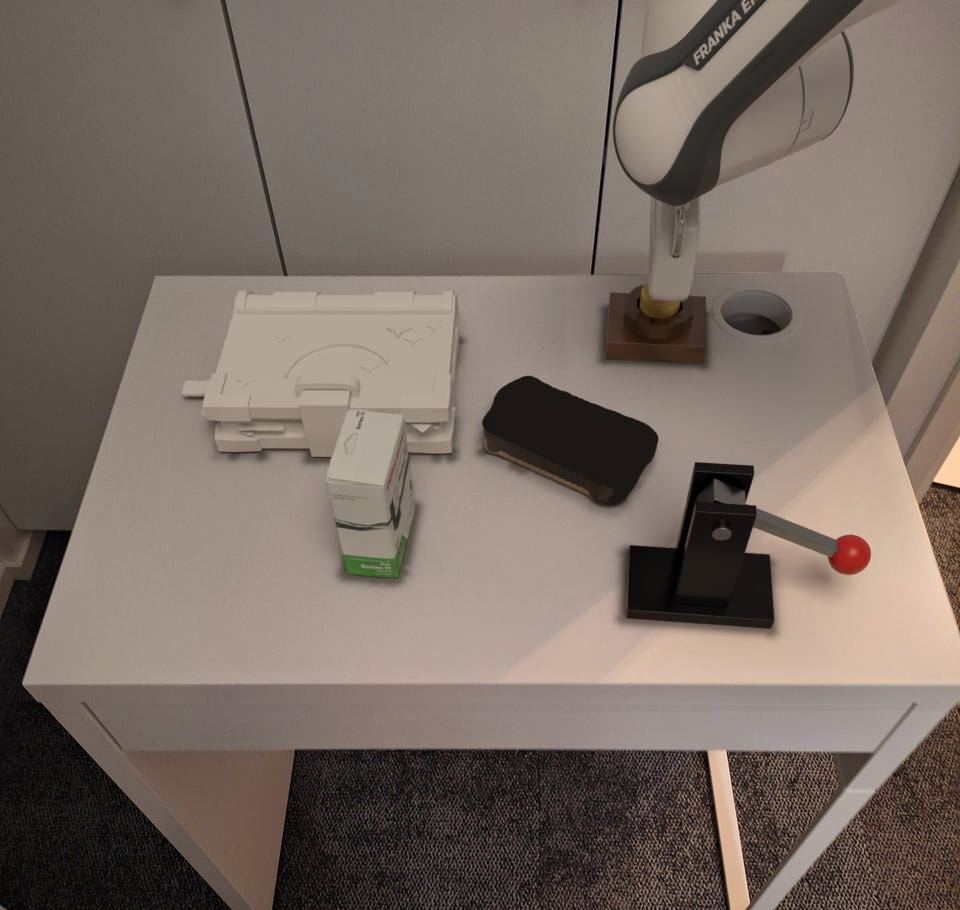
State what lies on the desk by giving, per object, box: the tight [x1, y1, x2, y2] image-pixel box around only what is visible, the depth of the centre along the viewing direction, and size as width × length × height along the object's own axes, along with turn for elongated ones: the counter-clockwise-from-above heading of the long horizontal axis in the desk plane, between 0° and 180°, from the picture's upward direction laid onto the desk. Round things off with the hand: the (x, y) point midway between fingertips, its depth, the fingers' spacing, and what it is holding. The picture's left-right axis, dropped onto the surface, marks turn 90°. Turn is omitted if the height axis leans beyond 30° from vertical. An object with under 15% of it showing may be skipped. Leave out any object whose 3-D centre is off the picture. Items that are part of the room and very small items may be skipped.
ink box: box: [325, 407, 416, 579], centre depth 80 cm, size 9×5×12 cm, turn 171°
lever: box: [697, 478, 872, 576], centre depth 73 cm, size 15×3×3 cm, turn 83°
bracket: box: [625, 461, 776, 630], centre depth 76 cm, size 12×7×13 cm, turn 84°
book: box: [181, 289, 460, 458], centre depth 93 cm, size 19×28×8 cm
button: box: [640, 281, 680, 319], centre depth 95 cm, size 4×4×2 cm
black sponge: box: [481, 375, 660, 507], centre depth 89 cm, size 16×8×4 cm, turn 56°
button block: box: [605, 284, 708, 365], centre depth 97 cm, size 10×8×4 cm
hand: (661, 280), depth 94 cm, fingers closed
